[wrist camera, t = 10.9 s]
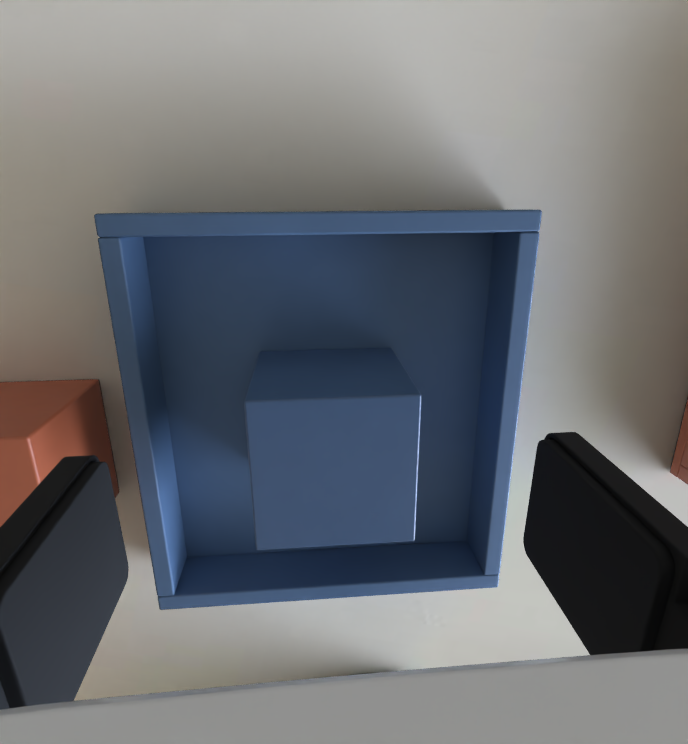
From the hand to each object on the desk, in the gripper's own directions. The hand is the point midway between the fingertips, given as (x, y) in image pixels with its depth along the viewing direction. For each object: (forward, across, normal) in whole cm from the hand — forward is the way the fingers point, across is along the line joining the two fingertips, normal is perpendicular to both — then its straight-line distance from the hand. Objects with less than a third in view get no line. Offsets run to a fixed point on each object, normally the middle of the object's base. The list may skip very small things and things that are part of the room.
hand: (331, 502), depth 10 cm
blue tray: (+7, 0, +1) cm, 7 cm away
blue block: (+7, 0, +1) cm, 7 cm away
